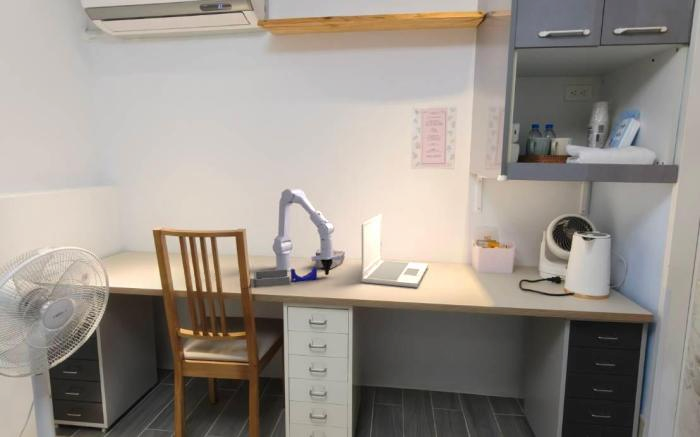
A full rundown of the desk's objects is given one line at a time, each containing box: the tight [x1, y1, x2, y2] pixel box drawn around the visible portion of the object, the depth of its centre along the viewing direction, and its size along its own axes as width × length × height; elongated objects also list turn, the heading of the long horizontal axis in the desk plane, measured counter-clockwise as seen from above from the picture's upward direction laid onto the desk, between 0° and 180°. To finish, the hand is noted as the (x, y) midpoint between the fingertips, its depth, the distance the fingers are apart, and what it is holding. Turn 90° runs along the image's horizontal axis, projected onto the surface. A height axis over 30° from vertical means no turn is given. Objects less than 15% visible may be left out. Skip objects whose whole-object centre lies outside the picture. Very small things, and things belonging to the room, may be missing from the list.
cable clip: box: [290, 266, 318, 283], centre depth 192 cm, size 12×4×6 cm, turn 107°
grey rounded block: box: [315, 248, 346, 269], centre depth 217 cm, size 13×11×20 cm
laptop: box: [361, 213, 429, 289], centre depth 197 cm, size 35×26×28 cm
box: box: [253, 269, 291, 288], centre depth 190 cm, size 14×16×4 cm
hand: (326, 274), depth 196 cm, fingers closed
